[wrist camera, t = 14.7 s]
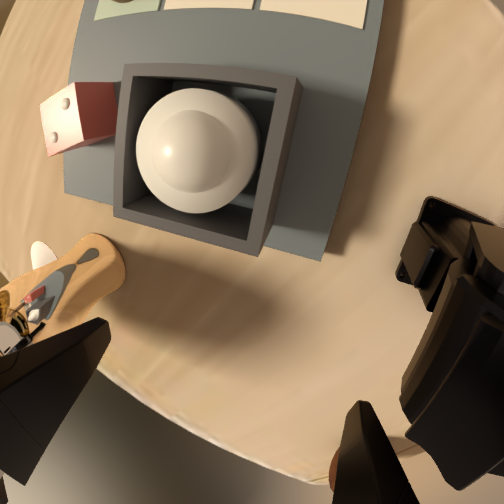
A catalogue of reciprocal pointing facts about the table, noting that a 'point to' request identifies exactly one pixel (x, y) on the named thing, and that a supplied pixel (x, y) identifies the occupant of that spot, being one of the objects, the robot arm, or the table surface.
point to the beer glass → (58, 293)
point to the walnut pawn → (122, 1)
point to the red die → (79, 116)
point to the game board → (244, 90)
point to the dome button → (198, 149)
